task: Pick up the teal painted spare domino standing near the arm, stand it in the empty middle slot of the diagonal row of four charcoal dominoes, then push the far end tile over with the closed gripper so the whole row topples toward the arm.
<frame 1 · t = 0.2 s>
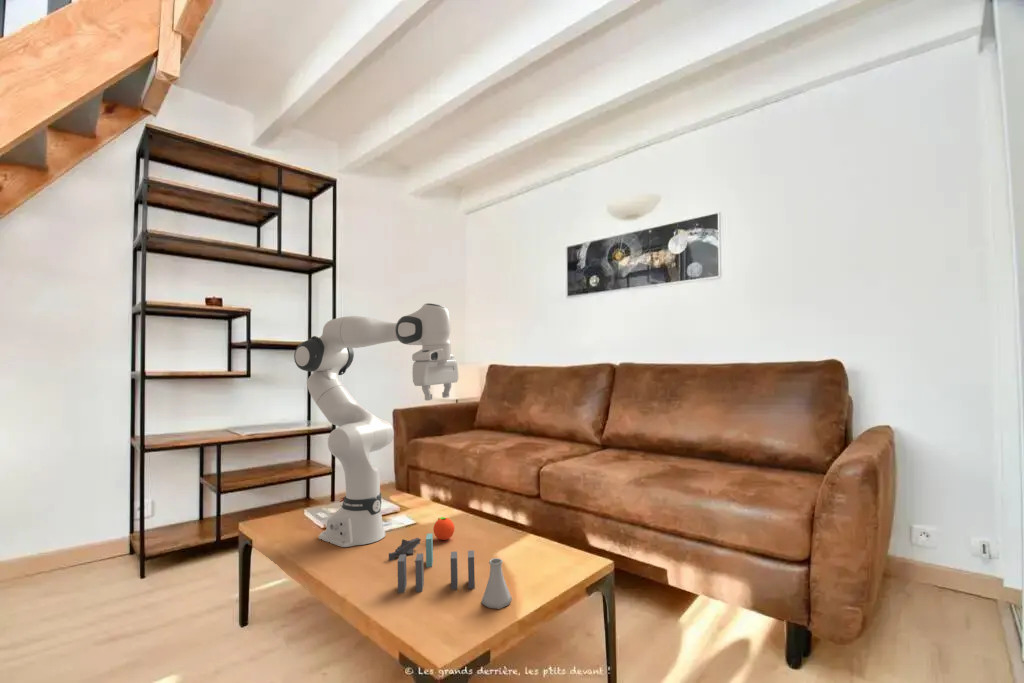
hand: (437, 398, 152), 47 cm above the table, fingers open, 8 cm apart
spare domino: (429, 563, 141), on the table
clementine: (443, 539, 160), on the table
flask: (496, 602, 118), on the table
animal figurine: (405, 555, 148), on the table
domino e: (471, 584, 128), on the table
domino b: (419, 587, 126), on the table
domino a: (402, 588, 126), on the table
domino d: (454, 585, 127), on the table
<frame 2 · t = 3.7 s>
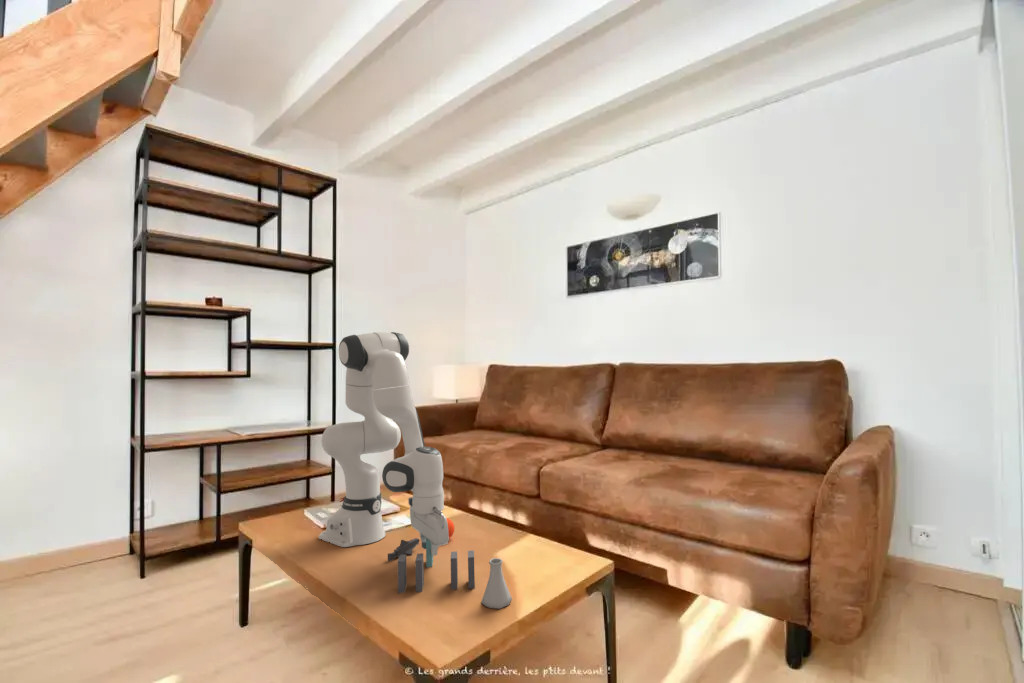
hand: (429, 551, 141), 4 cm above the table, fingers closed on spare domino, 5 cm apart
spare domino: (429, 563, 141), on the table, touching gripper
when the fingers open (5 cm above the table, at t = 8.6 s): spare domino stays where it is, on the table.
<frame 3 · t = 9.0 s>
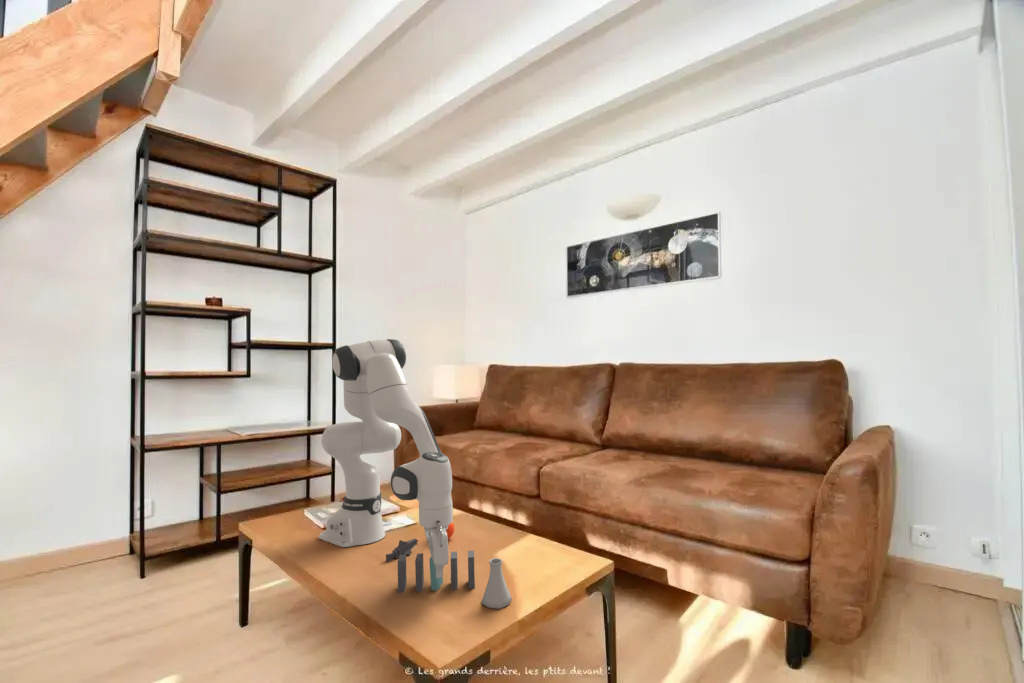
hand: (436, 568, 127), 5 cm above the table, fingers open, 8 cm apart
spare domino: (437, 586, 127), on the table
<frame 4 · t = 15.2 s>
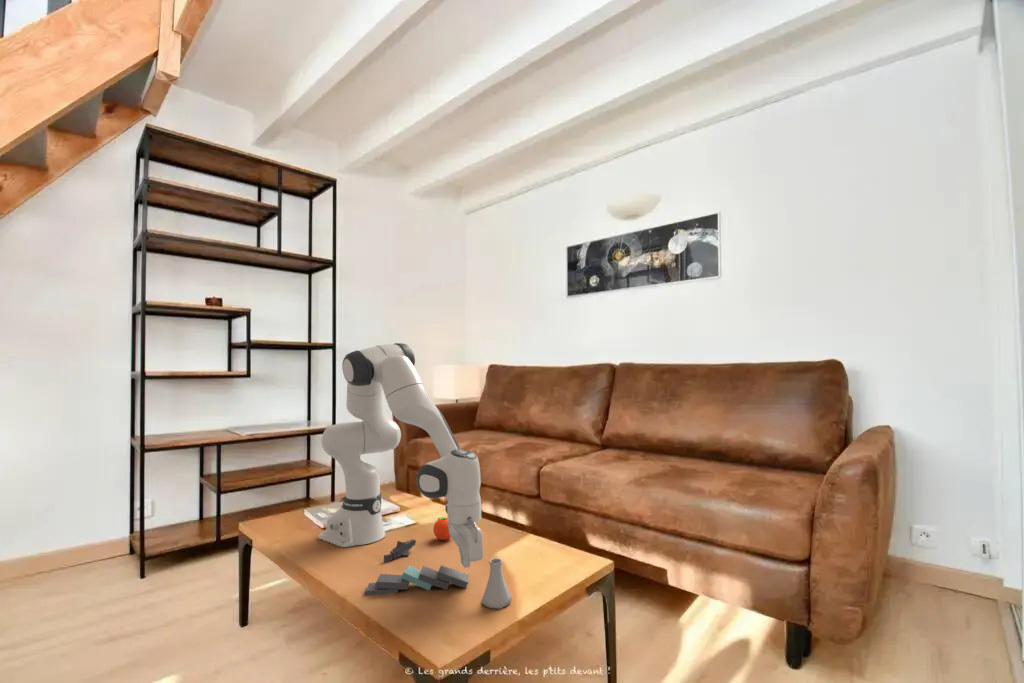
hand: (465, 565, 128), 5 cm above the table, fingers closed
spare domino: (432, 583, 127), point 1 cm above the table, tilted 68°, touching domino b, domino d
domino e: (467, 581, 128), point 1 cm above the table, tilted 69°, touching domino d
domino b: (408, 582, 126), point 2 cm above the table, tilted 85°, touching domino a, spare domino
domino a: (398, 588, 126), on the table, tilted 90°, touching domino b
domino d: (449, 583, 127), point 1 cm above the table, tilted 68°, touching domino e, spare domino
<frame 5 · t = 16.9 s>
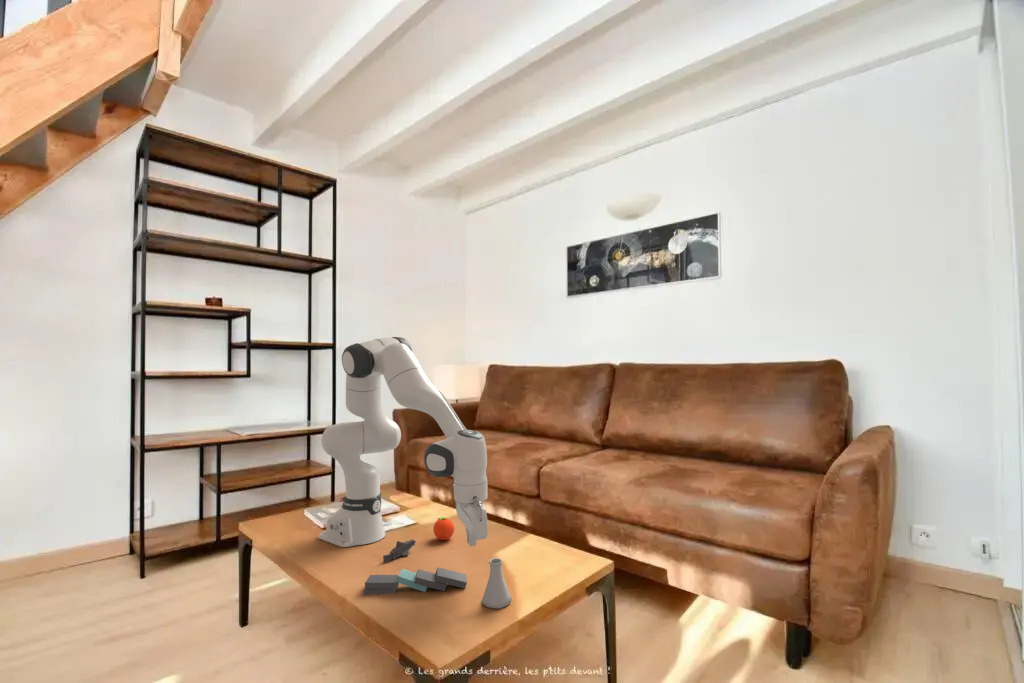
hand: (471, 544, 128), 10 cm above the table, fingers closed
spare domino: (428, 585, 126), point 1 cm above the table, tilted 71°, touching domino d
domino e: (465, 581, 128), point 1 cm above the table, tilted 71°, touching domino d
domino b: (398, 581, 126), point 2 cm above the table, tilted 89°, touching domino a
domino d: (445, 583, 126), point 1 cm above the table, tilted 71°, touching domino e, spare domino
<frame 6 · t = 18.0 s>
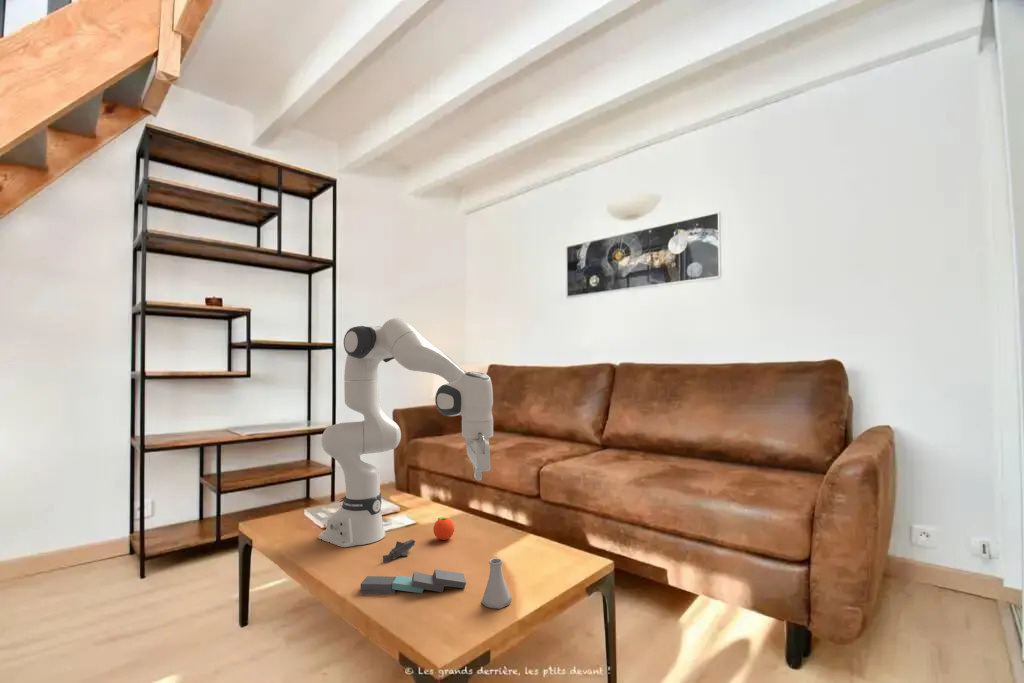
hand: (478, 479, 136), 26 cm above the table, fingers closed
spare domino: (424, 586, 126), point 1 cm above the table, tilted 83°, touching domino d
domino e: (464, 580, 128), point 1 cm above the table, tilted 74°, touching domino d
domino b: (393, 583, 126), point 1 cm above the table, tilted 90°, touching domino a
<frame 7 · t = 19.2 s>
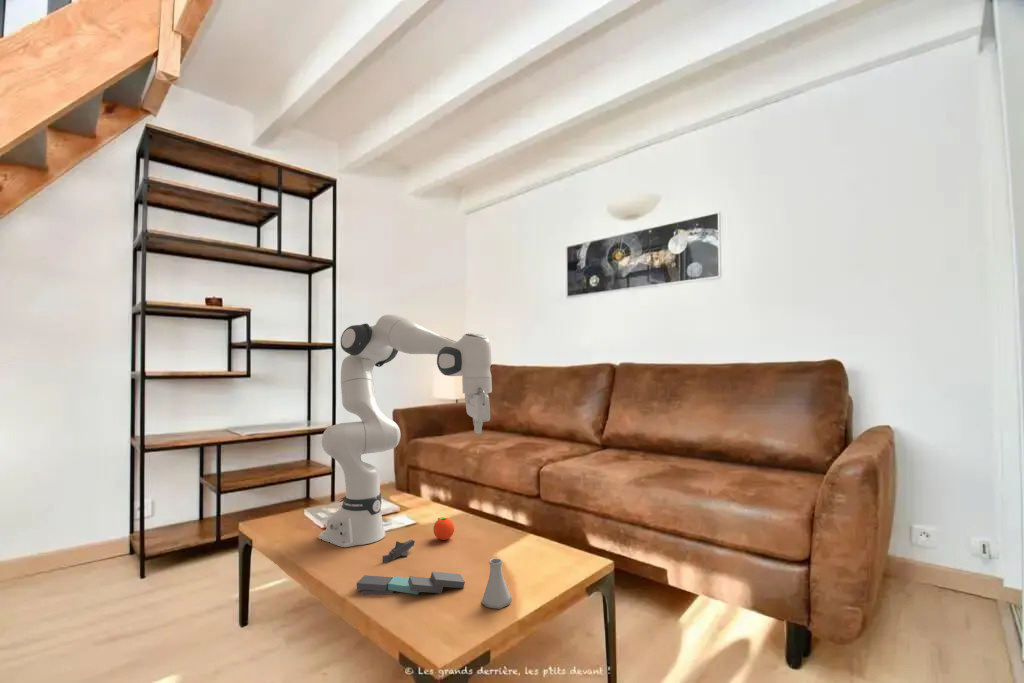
hand: (478, 433, 145), 37 cm above the table, fingers closed
spare domino: (420, 587, 125), point 1 cm above the table, tilted 83°, touching domino a, domino d
domino b: (389, 584, 126), point 2 cm above the table, tilted 89°
domino a: (394, 589, 126), on the table, tilted 90°, touching spare domino
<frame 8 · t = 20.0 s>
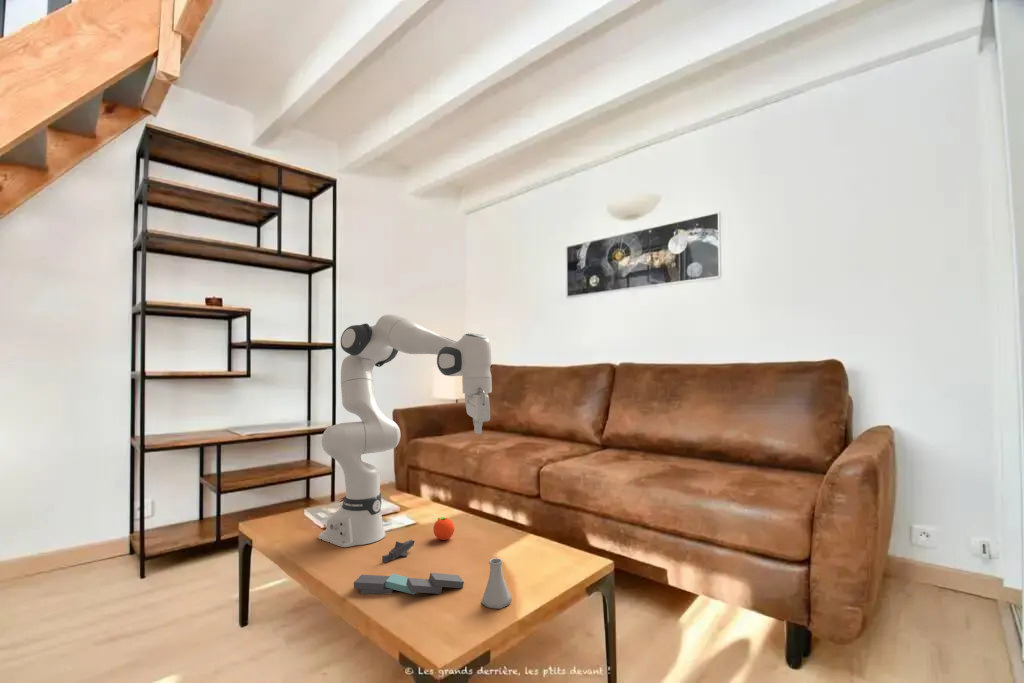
hand: (478, 433, 145), 37 cm above the table, fingers closed
spare domino: (417, 587, 125), point 1 cm above the table, tilted 80°, touching domino a
domino b: (386, 583, 126), point 2 cm above the table, tilted 90°, touching domino a
domino a: (393, 588, 126), on the table, tilted 90°, touching domino b, spare domino
domino d: (438, 586, 125), point 1 cm above the table, tilted 73°, touching domino e
at the end: domino a tilted 90°; spare domino tilted 81°; the gripper is holding nothing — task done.
